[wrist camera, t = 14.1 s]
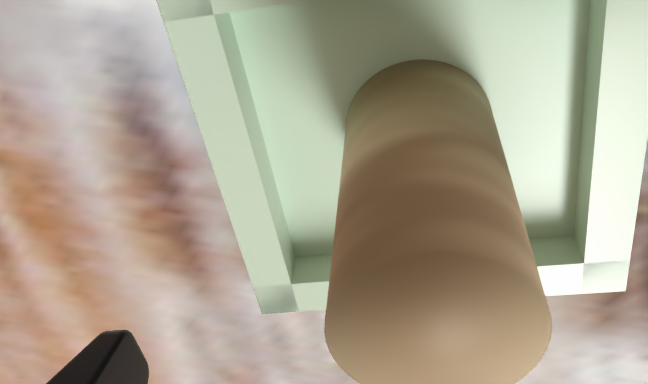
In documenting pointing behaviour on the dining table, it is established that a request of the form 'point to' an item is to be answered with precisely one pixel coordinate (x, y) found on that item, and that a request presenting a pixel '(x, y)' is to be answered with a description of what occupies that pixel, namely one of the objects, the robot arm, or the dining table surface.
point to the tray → (403, 45)
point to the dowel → (430, 239)
